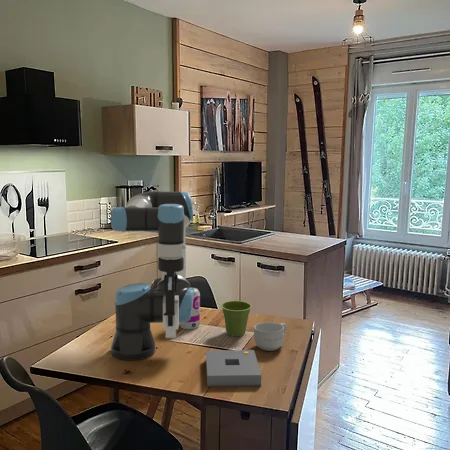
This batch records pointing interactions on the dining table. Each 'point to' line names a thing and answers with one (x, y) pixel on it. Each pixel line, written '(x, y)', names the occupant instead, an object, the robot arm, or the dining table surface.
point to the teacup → (269, 335)
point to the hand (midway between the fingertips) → (170, 332)
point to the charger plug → (175, 314)
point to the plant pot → (236, 316)
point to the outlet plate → (232, 368)
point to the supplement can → (193, 313)
